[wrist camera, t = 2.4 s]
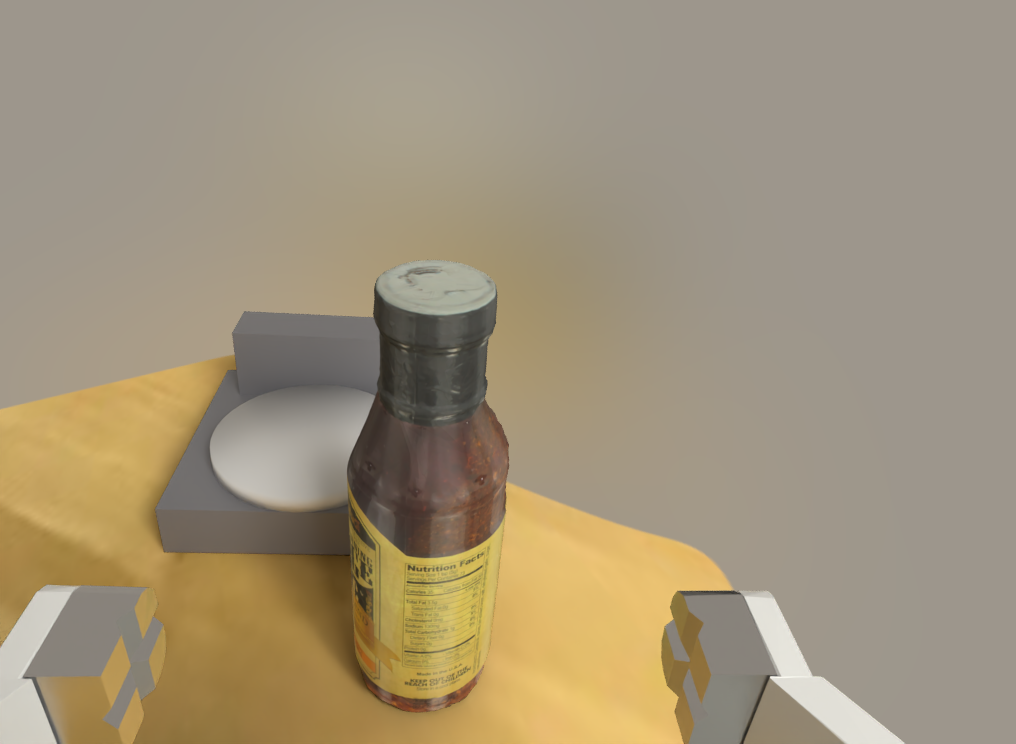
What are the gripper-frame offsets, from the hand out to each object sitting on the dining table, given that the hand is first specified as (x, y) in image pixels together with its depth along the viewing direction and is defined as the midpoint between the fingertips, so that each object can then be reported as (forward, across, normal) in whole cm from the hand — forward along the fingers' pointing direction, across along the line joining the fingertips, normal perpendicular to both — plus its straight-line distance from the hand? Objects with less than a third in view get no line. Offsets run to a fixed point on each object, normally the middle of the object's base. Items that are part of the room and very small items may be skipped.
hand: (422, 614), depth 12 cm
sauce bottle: (+14, 0, +20) cm, 25 cm away
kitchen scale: (+28, +7, +20) cm, 36 cm away
